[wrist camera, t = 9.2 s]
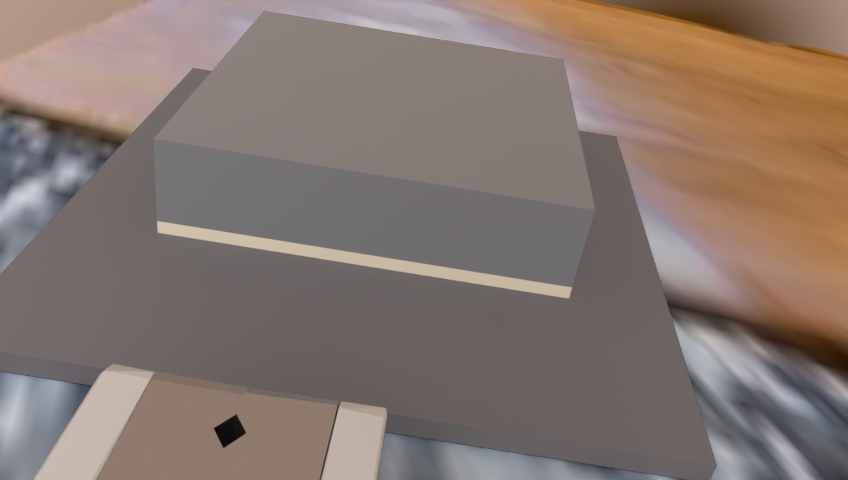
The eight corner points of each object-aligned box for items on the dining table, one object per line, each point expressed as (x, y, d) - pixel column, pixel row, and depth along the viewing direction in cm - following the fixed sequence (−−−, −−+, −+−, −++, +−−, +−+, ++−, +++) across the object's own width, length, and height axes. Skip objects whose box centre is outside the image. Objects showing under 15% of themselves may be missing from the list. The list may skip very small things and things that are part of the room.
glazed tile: (568, 299, 23) (546, 128, 33) (595, 210, 21) (563, 59, 31) (157, 233, 23) (261, 82, 33) (153, 138, 21) (264, 10, 31)
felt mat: (612, 149, 34) (616, 136, 33) (708, 482, 18) (717, 465, 18) (193, 81, 34) (193, 68, 33) (-58, 361, 18) (-63, 342, 18)
